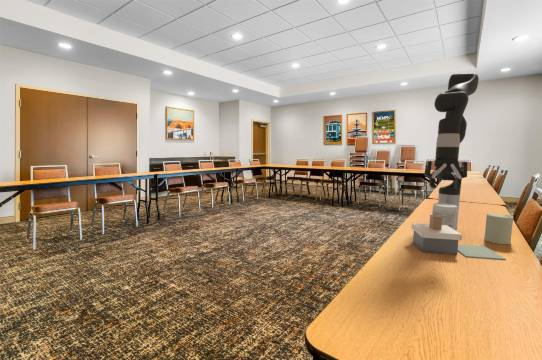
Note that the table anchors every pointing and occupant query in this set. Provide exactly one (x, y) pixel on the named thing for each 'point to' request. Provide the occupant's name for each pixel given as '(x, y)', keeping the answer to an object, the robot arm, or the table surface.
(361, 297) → the table surface
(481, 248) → the mat
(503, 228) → the can
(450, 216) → the supplement tub
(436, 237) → the lid
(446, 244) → the box
